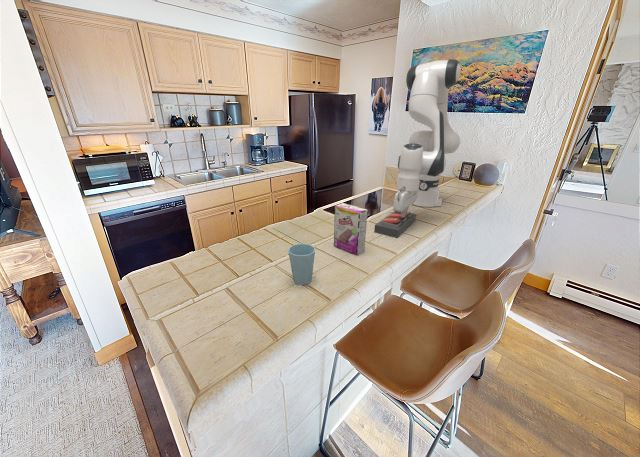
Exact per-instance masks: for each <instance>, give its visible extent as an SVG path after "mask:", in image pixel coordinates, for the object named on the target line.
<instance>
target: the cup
mask: <svg viewBox="0 0 640 457" xmlns="http://www.w3.org/2000/svg"><path fill="white" fill-rule="evenodd" d="M287 250H288V251H287V252H288V258H289V262H290V268H291V273H292V275H291V276H292V279H293V283H294V284H295V285H298V286H306V285H309V284H310V283H311V282H312V280H313V273H314V272H313V271H314V261H315V254H316V248H315V246H314V245H311V244H309V243H296V244H293V245H291V246H289V247H288V249H287Z"/></svg>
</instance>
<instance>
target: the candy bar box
mask: <svg viewBox="0 0 640 457" xmlns="http://www.w3.org/2000/svg"><path fill="white" fill-rule="evenodd" d="M368 211H369V210H368V209H366V208H362V207H359V206H355V205H351V204H348V203H344V202H342V203H339V204H336V205H334V222H333V223H334V227H333V228H334V229H333V231H334V232H333V247H334V248H337V249H339V250H342V251H344V252H346V253H347V252H348V253H350V254H352V255H355V256H359V255H361V254H362V253H364V252H365V251H366V250H365V248H366V232H367V220H368Z"/></svg>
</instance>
